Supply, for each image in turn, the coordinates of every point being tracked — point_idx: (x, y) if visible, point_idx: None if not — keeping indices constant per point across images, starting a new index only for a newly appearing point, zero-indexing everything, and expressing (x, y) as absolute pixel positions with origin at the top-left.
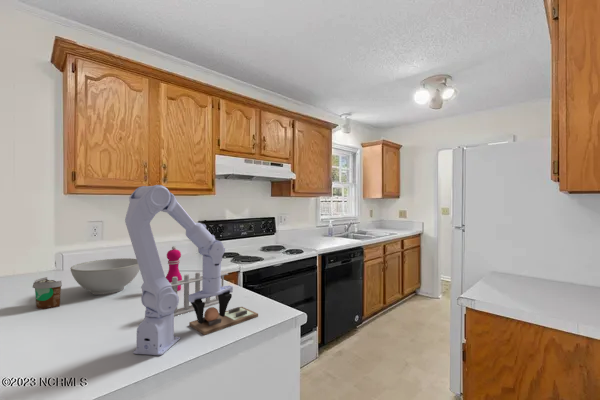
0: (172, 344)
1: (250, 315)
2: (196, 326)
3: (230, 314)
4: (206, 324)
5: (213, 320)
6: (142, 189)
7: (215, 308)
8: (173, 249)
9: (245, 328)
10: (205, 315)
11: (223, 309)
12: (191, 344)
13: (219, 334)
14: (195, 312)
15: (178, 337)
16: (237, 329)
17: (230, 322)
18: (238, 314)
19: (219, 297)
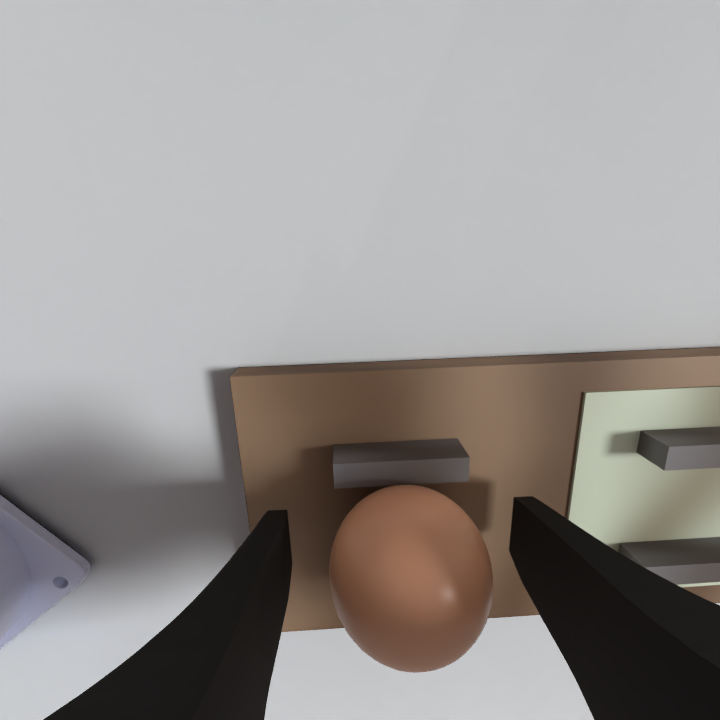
0: (15, 635)
1: (712, 592)
2: (250, 510)
3: (623, 474)
4: (338, 526)
5: None
6: None
7: (466, 649)
8: None
9: (536, 675)
10: (330, 586)
11: (552, 628)
12: None
13: (357, 652)
14: (210, 582)
15: (72, 575)
16: (489, 658)
17: (505, 610)
18: None
19: (689, 697)
